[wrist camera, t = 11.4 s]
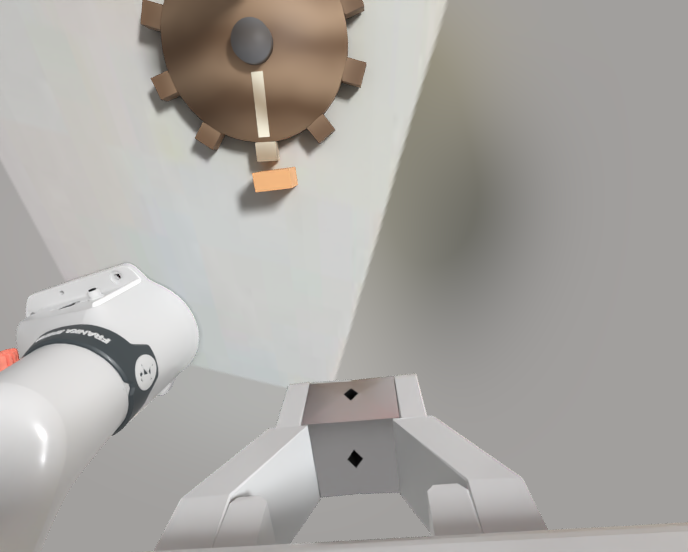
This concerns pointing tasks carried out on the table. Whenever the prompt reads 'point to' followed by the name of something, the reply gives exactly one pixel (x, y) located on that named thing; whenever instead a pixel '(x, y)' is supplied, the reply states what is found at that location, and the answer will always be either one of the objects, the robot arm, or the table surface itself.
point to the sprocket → (255, 65)
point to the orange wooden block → (275, 179)
